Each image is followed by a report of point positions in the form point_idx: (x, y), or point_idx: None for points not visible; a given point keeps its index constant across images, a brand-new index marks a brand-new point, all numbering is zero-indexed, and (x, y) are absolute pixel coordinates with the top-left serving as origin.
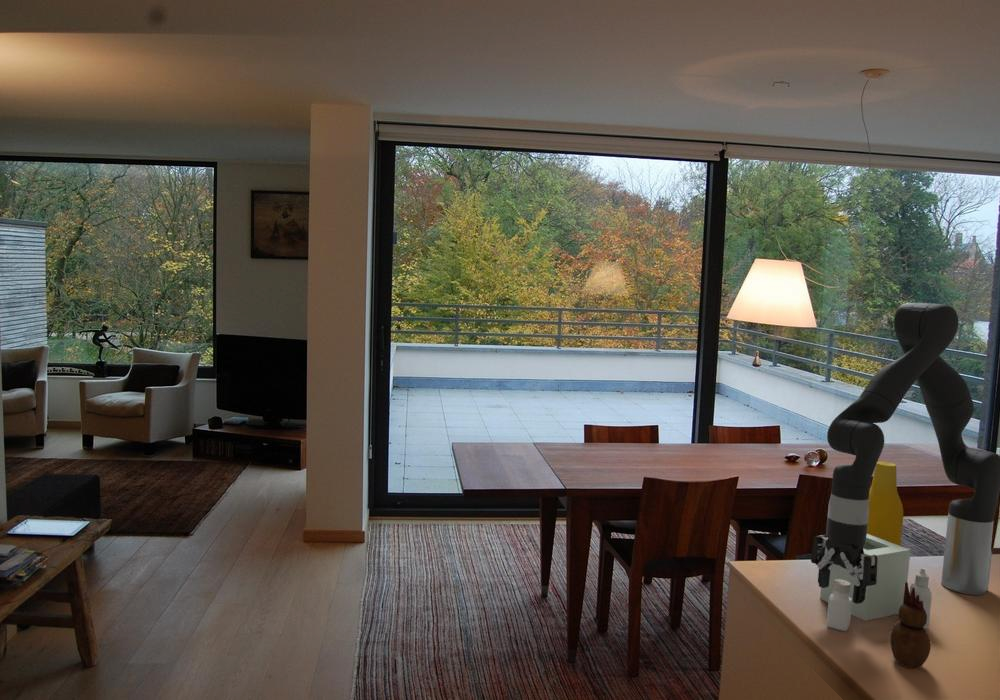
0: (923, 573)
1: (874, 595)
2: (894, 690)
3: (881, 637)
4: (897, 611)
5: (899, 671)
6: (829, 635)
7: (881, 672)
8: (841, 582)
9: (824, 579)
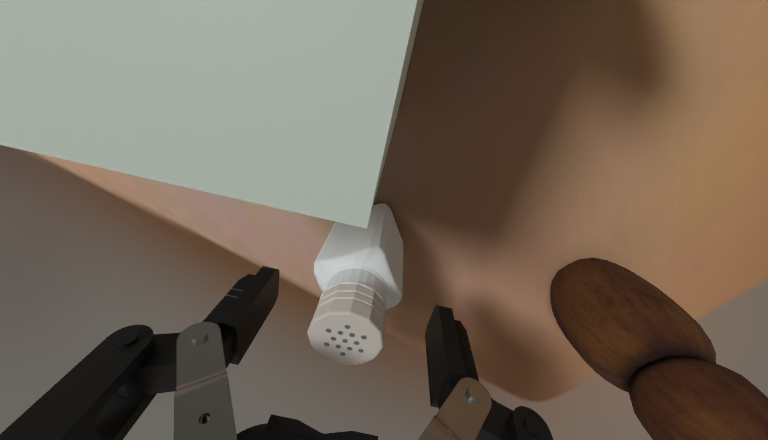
0: None
1: (406, 73)
2: (576, 383)
3: (483, 193)
4: None
5: None
6: None
7: (539, 349)
8: (346, 345)
9: (261, 315)
